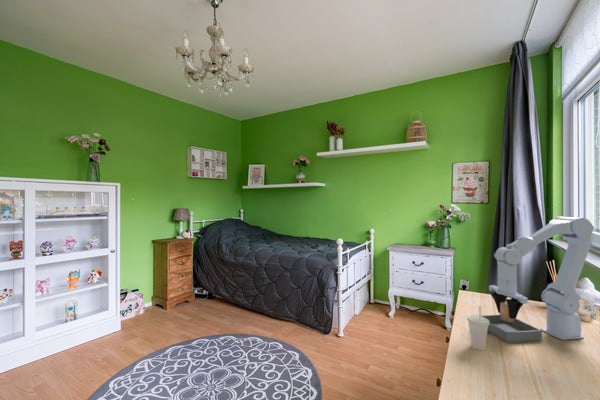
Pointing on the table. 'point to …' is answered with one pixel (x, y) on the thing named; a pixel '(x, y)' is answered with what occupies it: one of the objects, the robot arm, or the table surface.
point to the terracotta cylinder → (505, 312)
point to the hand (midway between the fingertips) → (506, 315)
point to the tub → (512, 330)
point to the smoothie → (478, 330)
